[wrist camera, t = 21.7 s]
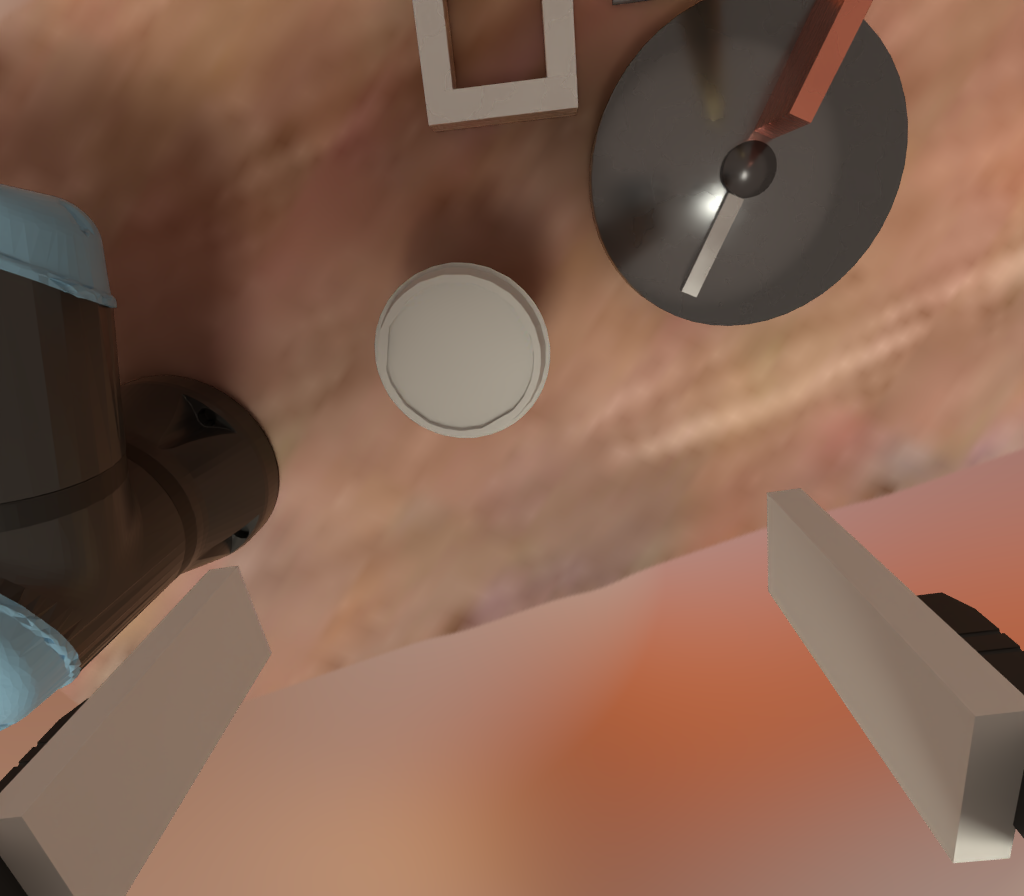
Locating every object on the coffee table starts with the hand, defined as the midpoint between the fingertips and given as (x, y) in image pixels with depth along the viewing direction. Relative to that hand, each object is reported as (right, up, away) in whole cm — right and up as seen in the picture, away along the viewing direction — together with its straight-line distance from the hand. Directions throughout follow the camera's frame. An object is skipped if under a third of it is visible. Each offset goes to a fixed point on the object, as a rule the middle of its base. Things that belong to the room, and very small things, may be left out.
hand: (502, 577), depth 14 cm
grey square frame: (-1, +28, +21) cm, 35 cm away
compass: (+14, +20, +21) cm, 33 cm away
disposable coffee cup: (-2, +12, +27) cm, 30 cm away
